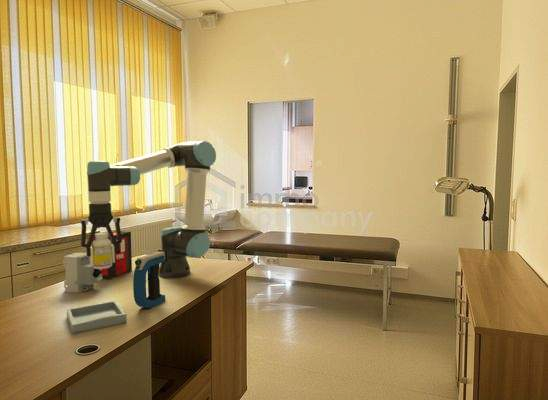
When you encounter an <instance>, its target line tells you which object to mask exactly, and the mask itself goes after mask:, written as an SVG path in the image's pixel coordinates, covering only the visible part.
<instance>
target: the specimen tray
mask: <svg viewBox="0 0 548 400" xmlns="http://www.w3.org/2000/svg"><path fill="white" fill-rule="evenodd" d="M66 319H67V323H68V324H69V327H70V331H71V333H72V335H76V334H81V333H85V332H90V331H95V330H99V329H103V328H109V327H113V326H118V325H121V324H126V323H127V322H128V321H127V313H126V311H124V309H123V307H122V306H121V305H120V304H119V302H118V301H117V300H116V299H115V300H110V301H105V302H98V303H94V304H93V303H92V304H87V305H83V306H77V307H72V308H66Z"/></svg>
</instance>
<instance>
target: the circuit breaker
mask: <svg viewBox="0 0 548 400" xmlns="http://www.w3.org/2000/svg"><path fill="white" fill-rule="evenodd" d="M62 263H63V265H62V267H65V280H63V283H64V286H63V288H64V293H65V292H68V293H79V294H80V293H81V294H82V293H83V292H87V291H88V290H90V289H93V288H94V287H95V285H94V283H95V284H96V283H97V282H100V281H102V280H103V279H102V269H95V268H94V267H93V265H92V266H91V264H90V256H89V257H88V256H87V252H74V253H73V252H72V253H71V254H67V255H63V261H62Z"/></svg>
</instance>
